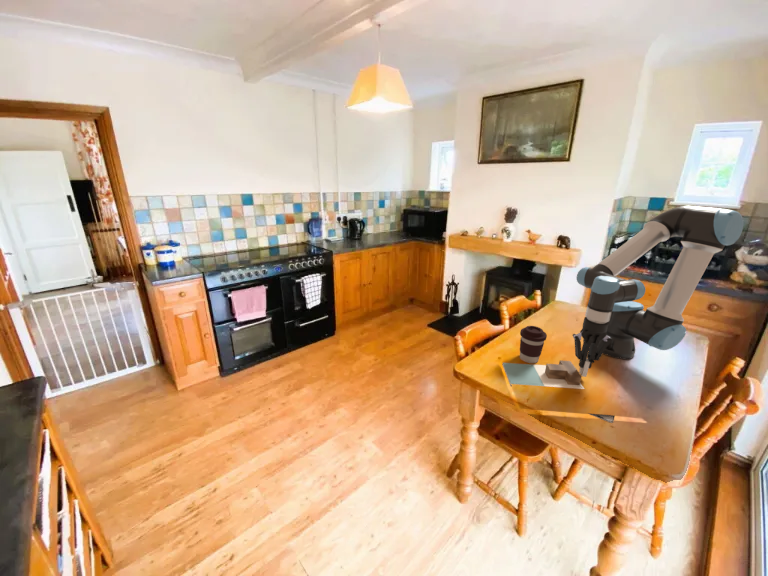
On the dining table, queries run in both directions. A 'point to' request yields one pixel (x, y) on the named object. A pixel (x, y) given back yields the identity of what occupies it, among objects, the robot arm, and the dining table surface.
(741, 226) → the robot arm
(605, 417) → the smartphone
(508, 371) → the board
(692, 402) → the dining table surface
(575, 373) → the t block
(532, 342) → the coffee cup
